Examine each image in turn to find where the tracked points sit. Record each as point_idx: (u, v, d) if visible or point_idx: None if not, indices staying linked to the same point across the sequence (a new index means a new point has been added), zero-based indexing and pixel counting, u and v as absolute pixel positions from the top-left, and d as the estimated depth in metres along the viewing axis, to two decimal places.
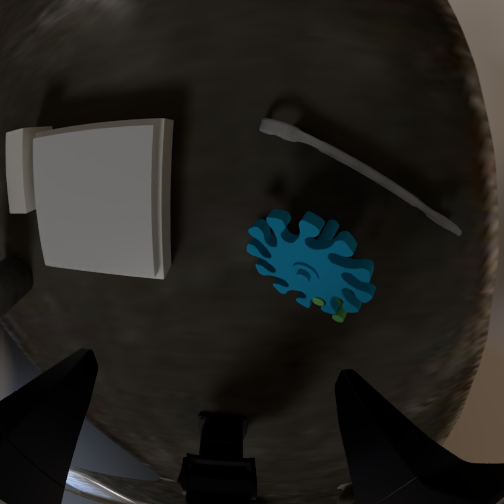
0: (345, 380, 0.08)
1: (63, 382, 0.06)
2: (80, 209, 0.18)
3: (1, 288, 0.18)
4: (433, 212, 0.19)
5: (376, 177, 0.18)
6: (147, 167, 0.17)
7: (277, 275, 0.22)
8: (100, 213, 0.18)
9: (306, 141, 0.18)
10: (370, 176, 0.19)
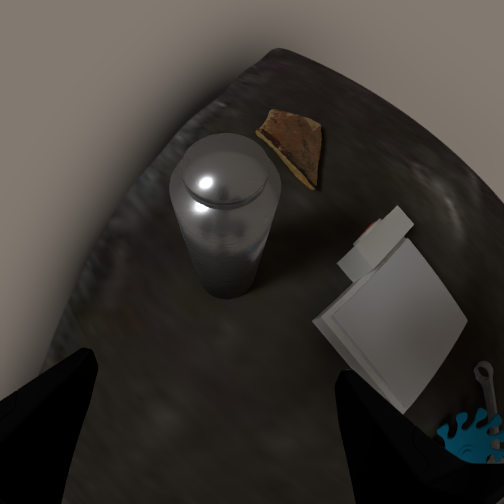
0: (345, 380, 0.08)
1: (63, 382, 0.06)
2: (407, 319, 0.20)
3: (258, 263, 0.19)
4: None
5: None
6: (454, 339, 0.20)
7: None
8: (417, 336, 0.20)
9: (490, 384, 0.19)
10: None
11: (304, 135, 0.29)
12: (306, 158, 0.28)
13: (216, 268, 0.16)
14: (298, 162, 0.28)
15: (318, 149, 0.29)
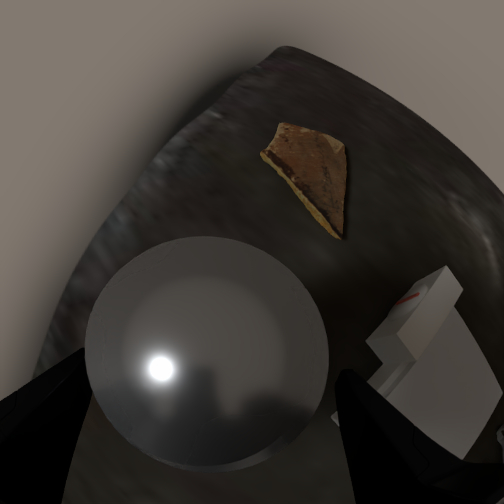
0: (345, 380, 0.08)
1: (63, 382, 0.06)
2: (444, 410, 0.13)
3: None
4: None
5: None
6: (487, 417, 0.12)
7: None
8: (451, 426, 0.12)
9: None
10: None
11: (324, 159, 0.22)
12: (328, 193, 0.21)
13: None
14: (318, 199, 0.21)
15: (343, 179, 0.22)
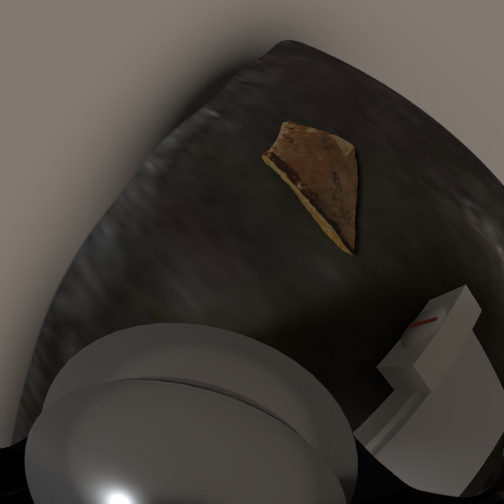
0: None
1: None
2: (456, 437, 0.11)
3: None
4: None
5: None
6: (497, 439, 0.10)
7: None
8: (461, 452, 0.10)
9: None
10: None
11: (334, 163, 0.20)
12: (338, 202, 0.19)
13: None
14: (327, 209, 0.19)
15: (354, 186, 0.20)
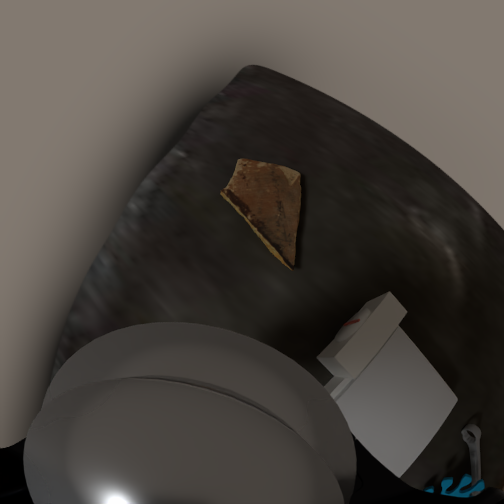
0: None
1: None
2: (390, 417, 0.17)
3: None
4: None
5: (478, 476, 0.14)
6: (441, 422, 0.17)
7: None
8: (399, 431, 0.16)
9: (476, 446, 0.16)
10: (477, 475, 0.14)
11: (279, 193, 0.26)
12: (282, 227, 0.25)
13: None
14: (272, 234, 0.24)
15: (297, 211, 0.25)
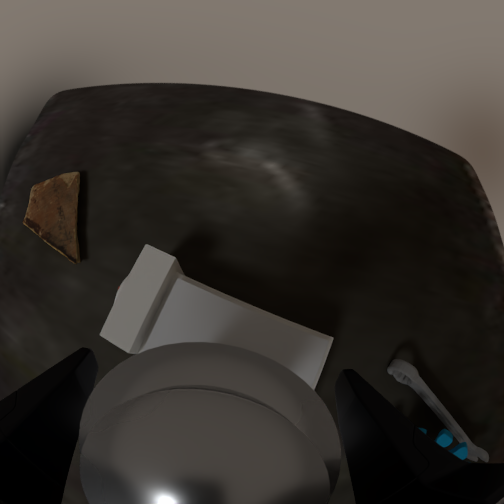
0: (345, 380, 0.08)
1: (63, 382, 0.06)
2: None
3: None
4: (474, 446, 0.14)
5: (450, 419, 0.16)
6: (310, 379, 0.16)
7: None
8: None
9: (419, 385, 0.17)
10: (446, 418, 0.16)
11: (59, 200, 0.22)
12: (63, 229, 0.21)
13: None
14: (56, 239, 0.21)
15: (74, 208, 0.22)
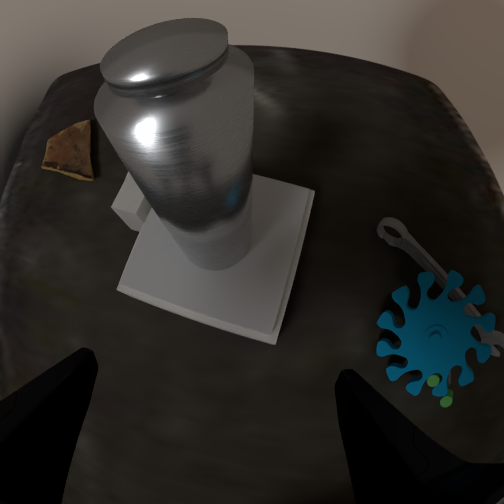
0: (345, 380, 0.08)
1: (63, 382, 0.06)
2: None
3: (249, 212, 0.14)
4: None
5: (455, 288, 0.19)
6: (298, 220, 0.19)
7: (399, 352, 0.18)
8: None
9: (412, 243, 0.20)
10: None
11: (74, 140, 0.25)
12: (79, 158, 0.25)
13: (183, 216, 0.11)
14: (73, 167, 0.24)
15: (87, 142, 0.25)
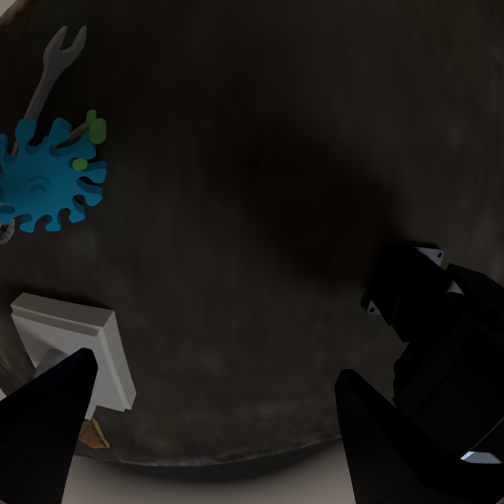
0: (345, 380, 0.08)
1: (63, 382, 0.06)
2: None
3: None
4: (43, 73, 0.12)
5: (15, 151, 0.14)
6: (29, 322, 0.19)
7: (70, 205, 0.16)
8: None
9: None
10: None
11: (81, 433, 0.31)
12: (87, 428, 0.30)
13: None
14: (94, 430, 0.30)
15: None
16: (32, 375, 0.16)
